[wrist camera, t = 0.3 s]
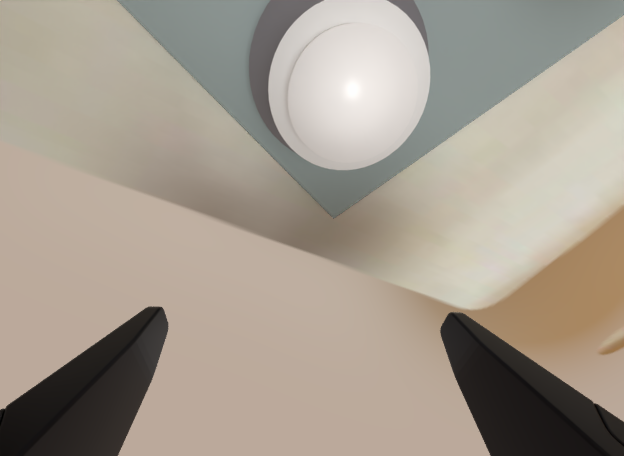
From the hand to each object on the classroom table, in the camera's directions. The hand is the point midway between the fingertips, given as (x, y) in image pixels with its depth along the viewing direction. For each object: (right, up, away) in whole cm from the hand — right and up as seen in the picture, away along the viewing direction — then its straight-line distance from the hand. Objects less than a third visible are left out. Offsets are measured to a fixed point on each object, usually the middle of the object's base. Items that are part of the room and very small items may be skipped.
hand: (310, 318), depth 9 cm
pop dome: (+1, +10, +4) cm, 11 cm away
